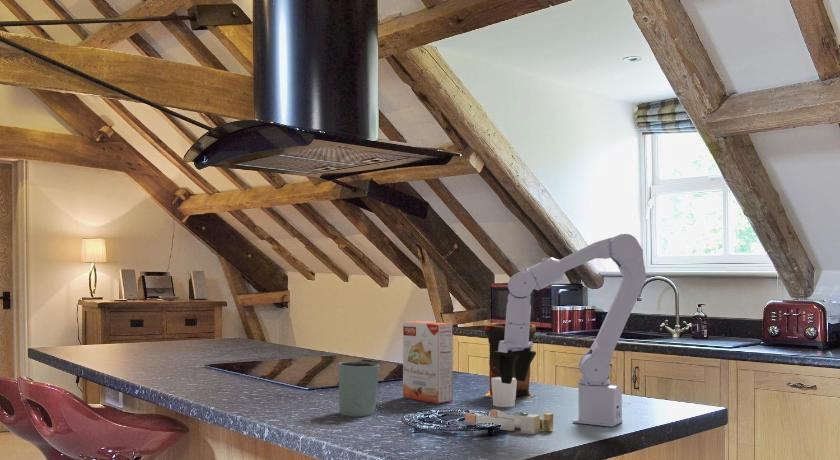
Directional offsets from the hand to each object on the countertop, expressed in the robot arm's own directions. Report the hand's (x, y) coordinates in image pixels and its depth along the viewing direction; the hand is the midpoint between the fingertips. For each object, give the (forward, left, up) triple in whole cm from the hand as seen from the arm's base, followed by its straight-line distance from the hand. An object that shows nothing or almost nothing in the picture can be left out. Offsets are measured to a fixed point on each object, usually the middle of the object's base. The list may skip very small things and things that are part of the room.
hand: (513, 381), depth 188 cm
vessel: (+17, -34, -9) cm, 39 cm away
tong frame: (-3, +11, -9) cm, 15 cm away
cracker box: (+32, -14, -9) cm, 36 cm away
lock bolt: (-10, +8, -9) cm, 16 cm away
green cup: (+35, +13, -9) cm, 39 cm away
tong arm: (-2, +7, -9) cm, 11 cm away
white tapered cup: (+11, -18, -9) cm, 23 cm away
